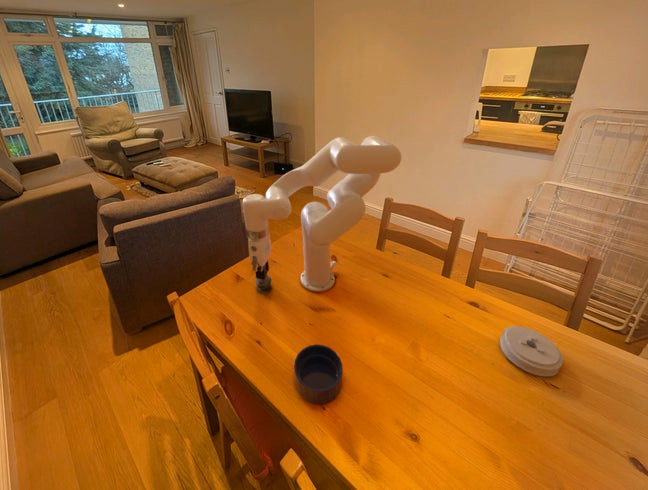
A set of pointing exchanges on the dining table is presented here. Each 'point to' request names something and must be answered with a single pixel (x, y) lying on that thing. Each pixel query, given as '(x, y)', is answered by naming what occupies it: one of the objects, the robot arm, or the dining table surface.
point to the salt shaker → (264, 282)
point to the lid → (531, 351)
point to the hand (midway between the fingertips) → (262, 273)
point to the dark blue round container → (318, 374)
